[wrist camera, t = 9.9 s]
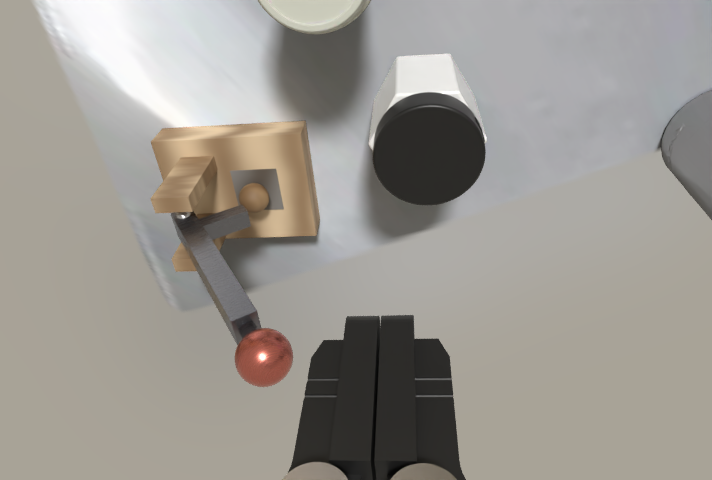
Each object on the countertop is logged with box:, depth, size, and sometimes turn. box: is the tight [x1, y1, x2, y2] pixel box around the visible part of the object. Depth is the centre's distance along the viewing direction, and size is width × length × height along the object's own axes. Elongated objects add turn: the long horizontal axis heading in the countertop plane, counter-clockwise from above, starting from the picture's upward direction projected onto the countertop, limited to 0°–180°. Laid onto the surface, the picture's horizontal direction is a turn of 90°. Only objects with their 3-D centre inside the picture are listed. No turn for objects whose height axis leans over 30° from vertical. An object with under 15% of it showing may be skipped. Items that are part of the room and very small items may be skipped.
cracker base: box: [151, 121, 320, 272], centre depth 51 cm, size 14×11×10 cm
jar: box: [369, 54, 487, 205], centre depth 44 cm, size 9×8×12 cm
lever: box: [171, 205, 293, 387], centre depth 41 cm, size 7×4×21 cm
